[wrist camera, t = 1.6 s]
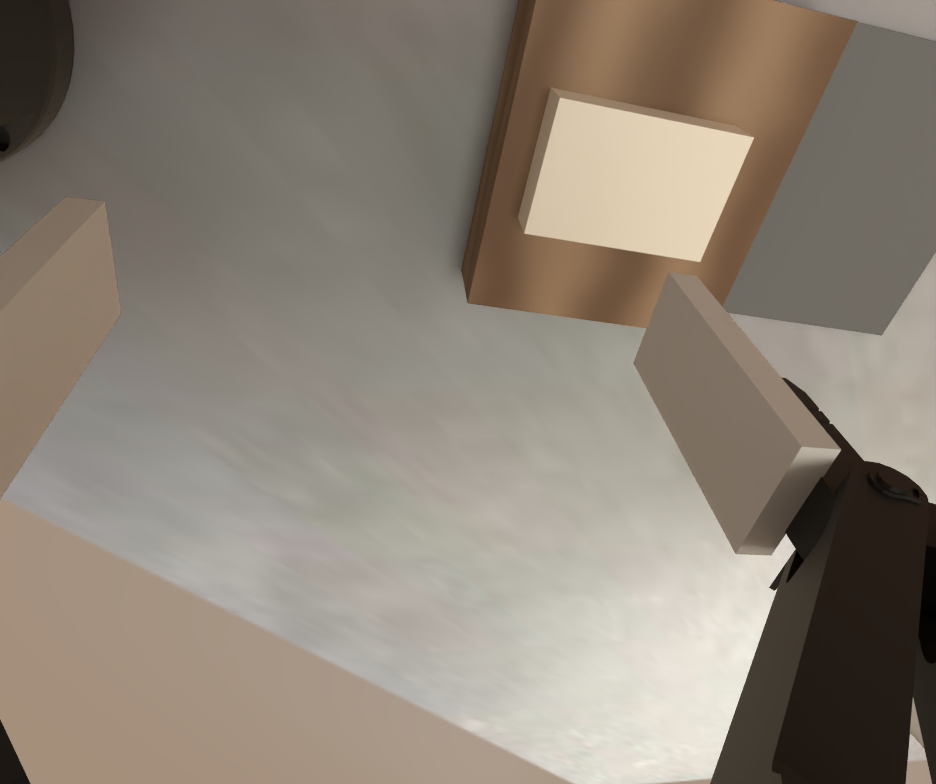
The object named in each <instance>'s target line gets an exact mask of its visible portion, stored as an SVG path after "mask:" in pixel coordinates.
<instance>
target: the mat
mask: <svg viewBox="0 0 936 784" xmlns="http://www.w3.org/2000/svg"><path fill="white" fill-rule="evenodd" d="M935 252H936V42H934V41H930V40H926V39H922V38H918V37H914V36H910V35H906V34H902V33H898V32H894V31H890V30H886V29H882V28H878V27H874V26H870V25H866V24H862V23H858V22H857V24H856V26H855V28H854V30H853V32H852V34H851V36H850V38H849V41H848V43H847V45H846V47H845V49H844V51H843V53H842V55H841V57H840V60H839V62H838V64H837V66H836V68H835V70H834V72H833V74H832V76H831V79H830V81H829V83H828V85H827V87H826V89H825V91H824V93H823V95H822V98H821V100H820V102H819V104H818V106H817V108H816V110H815V112H814V114H813V117H812V119H811V121H810V123H809V125H808V127H807V129H806V131H805V133H804V136H803V138H802V140H801V142H800V144H799V146H798V148H797V150H796V152H795V154H794V157H793V159H792V161H791V163H790V165H789V167H788V169H787V171H786V173H785V176H784V178H783V180H782V182H781V184H780V186H779V188H778V190H777V192H776V195H775V197H774V199H773V201H772V203H771V205H770V207H769V209H768V211H767V214H766V216H765V218H764V220H763V222H762V224H761V226H760V228H759V230H758V233H757V235H756V237H755V239H754V241H753V243H752V245H751V247H750V249H749V252H748V254H747V256H746V258H745V260H744V262H743V264H742V266H741V268H740V271H739V273H738V275H737V277H736V279H735V281H734V283H733V285H732V287H731V289H730V292H729V294H728V296H727V298H726V300H725V302H724V304H723V306H722V307H723V308H724V309H725V310H726V312H727V313H734V314H741V315H748V316H754V317H761V318H768V319H775V320H781V321H788V322H795V323H802V324H809V325H815V326H822V327H829V328H836V329H842V330H849V331H856V332H863V333H869V334H876V335H882V334H883V333H884V331H885V330H886V328H887V327H888V325H889V323H890V322H891V320H892V319H893V317H894V316H895V314H896V313H897V311H898V310H899V308H900V306H901V305H902V303H903V302H904V300H905V299H906V297H907V296H908V294H909V293H910V291H911V289H912V288H913V286H914V285H915V283H916V282H917V280H918V279H919V277H920V276H921V274H922V272H923V271H924V269H925V268H926V266H927V265H928V263H929V262H930V260H931V259H932V257H933V255H934V254H935Z"/></svg>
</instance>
